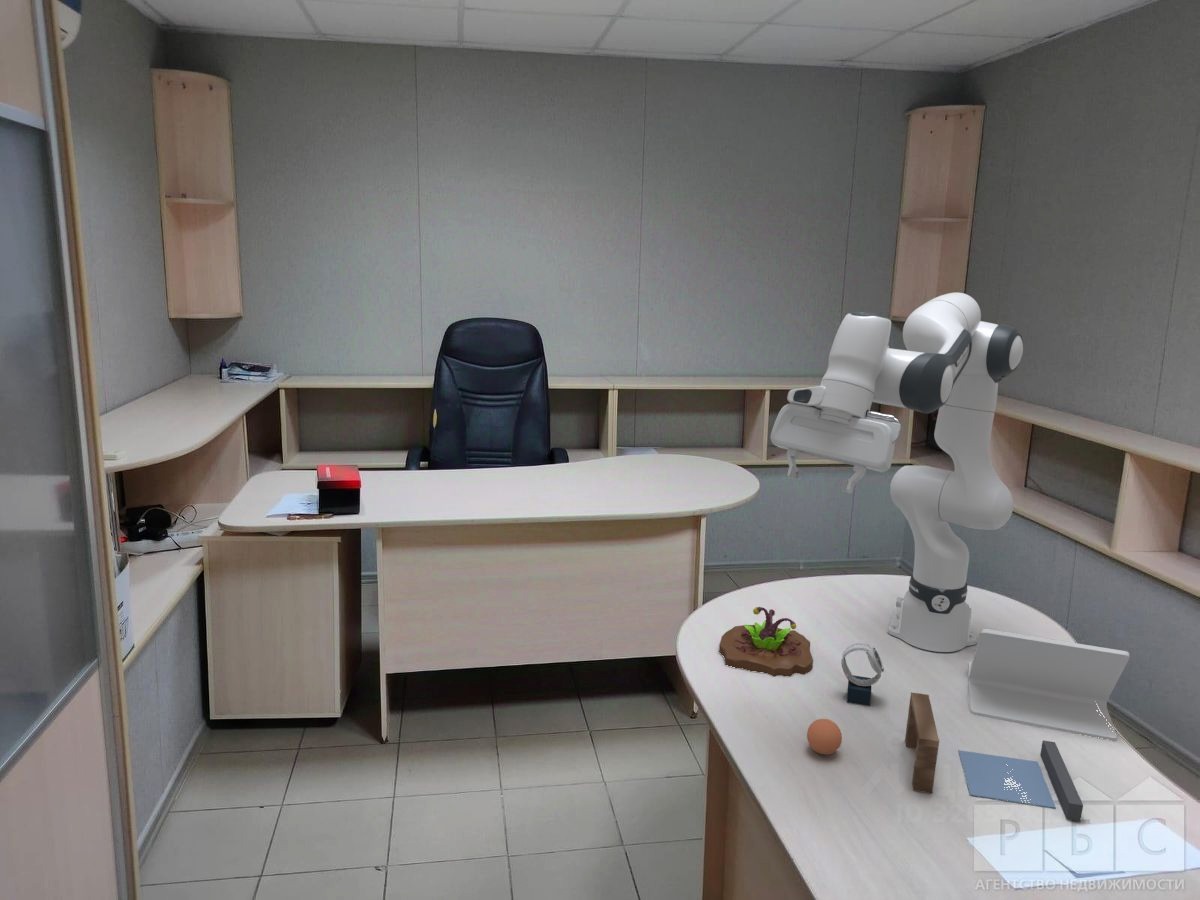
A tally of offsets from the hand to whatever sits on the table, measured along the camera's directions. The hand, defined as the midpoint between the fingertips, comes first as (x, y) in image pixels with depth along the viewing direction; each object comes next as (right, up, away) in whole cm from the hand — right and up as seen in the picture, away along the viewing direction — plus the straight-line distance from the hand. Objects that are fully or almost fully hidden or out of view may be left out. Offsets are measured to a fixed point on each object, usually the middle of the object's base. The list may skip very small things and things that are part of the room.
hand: (818, 484), depth 148 cm
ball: (+3, -45, +10) cm, 46 cm away
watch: (+15, -43, +29) cm, 54 cm away
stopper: (+41, -51, +2) cm, 65 cm away
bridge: (+19, -49, +7) cm, 53 cm away
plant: (0, -39, +46) cm, 60 cm away
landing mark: (+33, -50, +4) cm, 60 cm away
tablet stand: (+50, -44, +28) cm, 72 cm away
